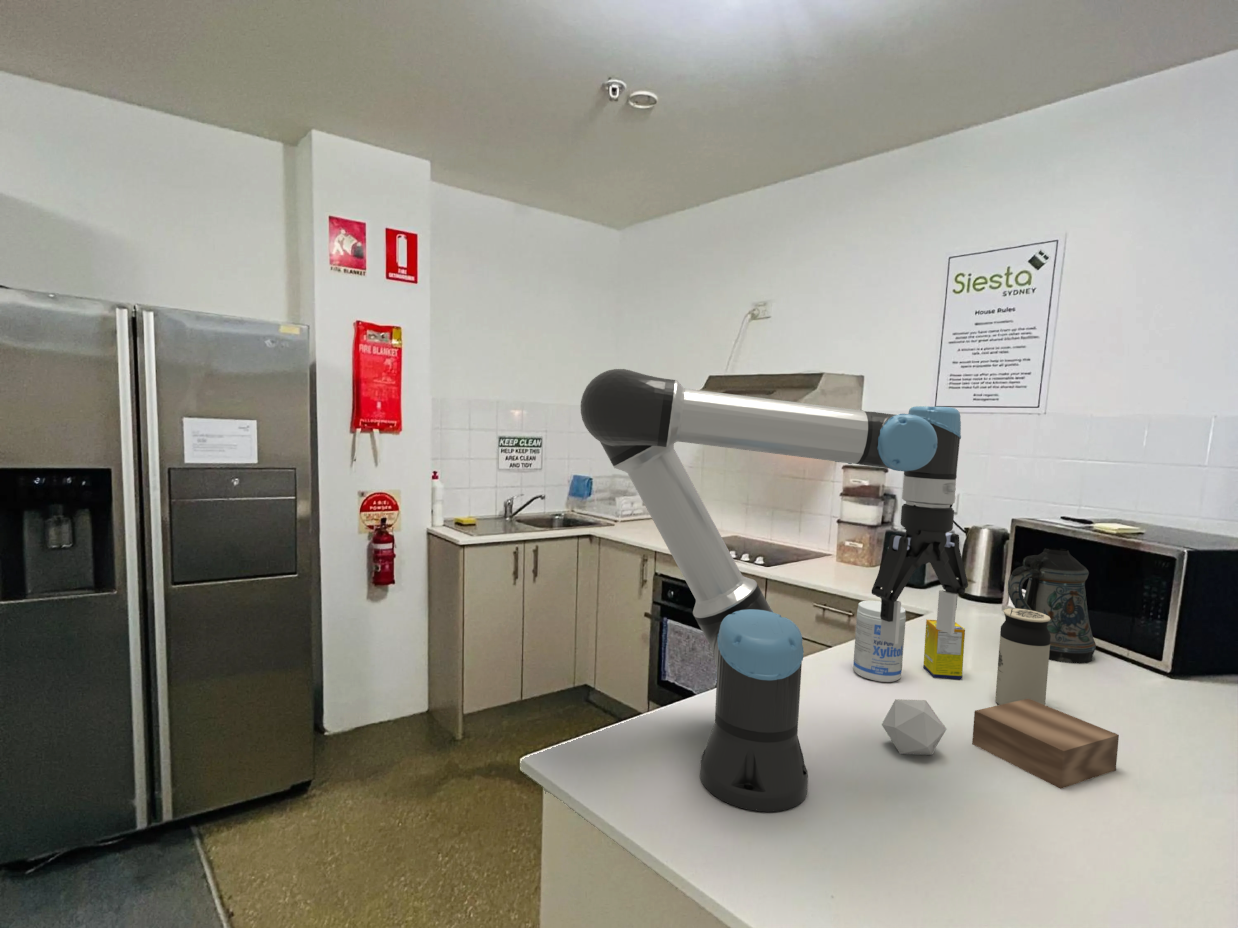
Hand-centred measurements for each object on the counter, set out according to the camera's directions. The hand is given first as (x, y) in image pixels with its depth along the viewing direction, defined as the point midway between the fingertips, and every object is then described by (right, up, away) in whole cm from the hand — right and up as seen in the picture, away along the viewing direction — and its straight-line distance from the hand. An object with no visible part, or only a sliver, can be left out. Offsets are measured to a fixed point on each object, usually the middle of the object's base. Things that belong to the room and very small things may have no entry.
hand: (917, 636), depth 102 cm
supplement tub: (+7, -17, +33) cm, 37 cm away
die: (-1, -19, +1) cm, 19 cm away
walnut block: (+20, -20, 0) cm, 28 cm away
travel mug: (+28, -19, +19) cm, 39 cm away
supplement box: (+21, -18, +35) cm, 44 cm away
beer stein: (+56, -18, +51) cm, 78 cm away
